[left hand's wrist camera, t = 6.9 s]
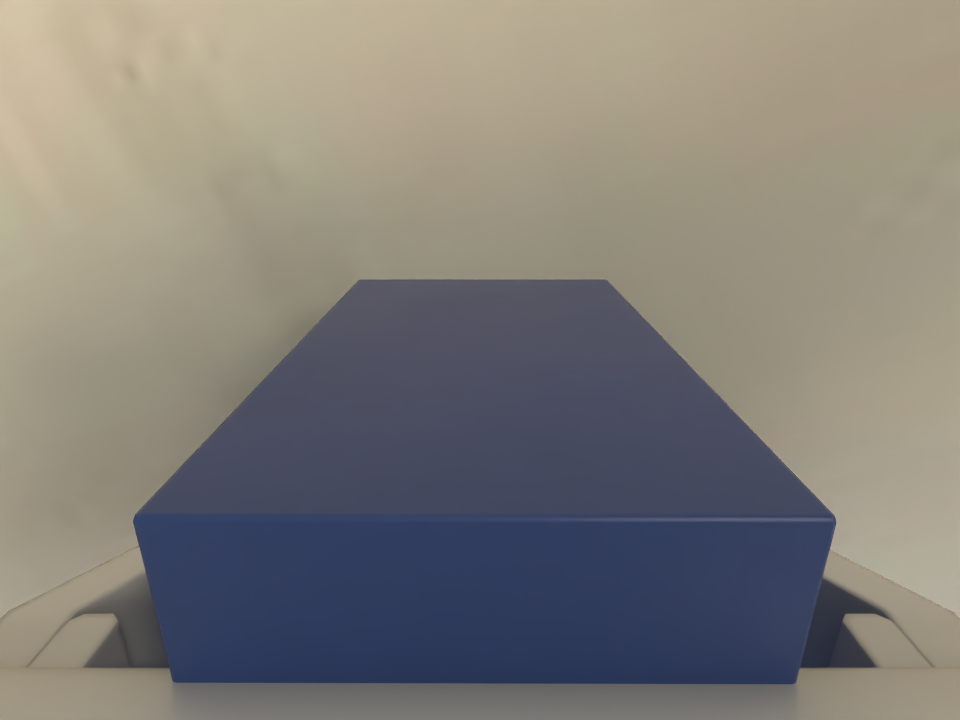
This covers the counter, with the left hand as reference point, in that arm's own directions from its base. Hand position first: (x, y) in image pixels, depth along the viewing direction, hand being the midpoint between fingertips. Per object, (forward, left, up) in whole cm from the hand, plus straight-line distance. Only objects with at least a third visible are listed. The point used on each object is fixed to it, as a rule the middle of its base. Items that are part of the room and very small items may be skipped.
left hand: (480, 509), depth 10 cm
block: (+8, 0, -4) cm, 9 cm away
